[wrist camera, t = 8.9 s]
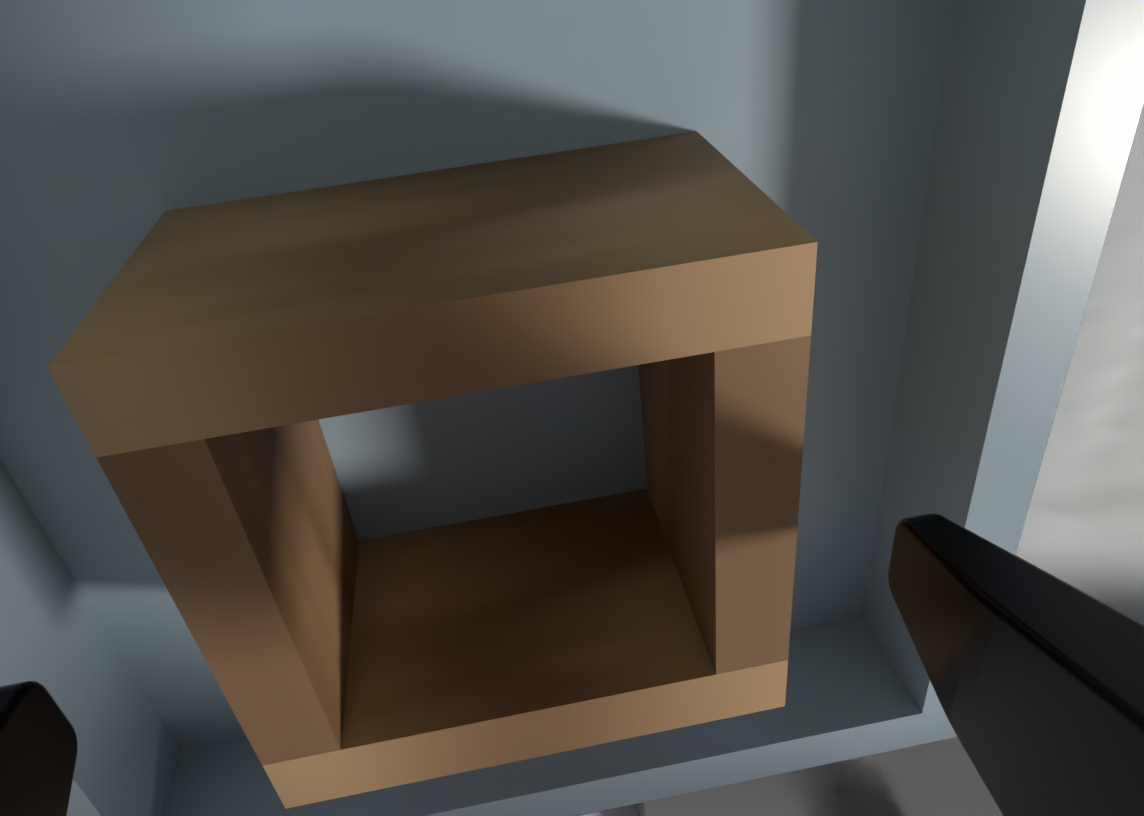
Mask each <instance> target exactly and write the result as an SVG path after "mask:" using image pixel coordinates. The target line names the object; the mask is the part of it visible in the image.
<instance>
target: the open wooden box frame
mask: <svg viewBox="0 0 1144 816" xmlns="http://www.w3.org/2000/svg"><path fill="white" fill-rule="evenodd" d="M817 245H818V242H817V241H816V240H815V239H814V238H813V237H812V236H811V235H810V234H808V233H807V232H806V231H805V230H804V229H803V228H802V227H801V226H800V225H799V224H798V223H796V222H795V221H794V220H793V219H792V218H791V217H790V216H789V215H788V214H787V213H786V212H784V211H783V210H782V209H781V208H780V207H779V206H778V205H777V204H776V203H775V202H774V201H773V200H771V199H770V198H769V197H768V196H767V195H766V194H765V193H764V192H763V191H762V190H761V189H759V188H758V187H757V186H756V185H755V184H754V183H753V182H752V181H751V180H750V179H749V178H747V177H746V176H745V175H744V174H743V173H742V172H741V171H740V170H739V169H738V168H737V167H735V166H734V165H733V164H732V163H731V162H730V161H729V160H728V159H727V158H726V157H725V156H723V155H722V154H721V153H720V152H719V151H718V150H717V149H716V148H715V147H714V146H713V145H711V144H710V143H709V142H708V141H707V140H706V139H705V138H704V137H703V136H702V135H701V134H699V133H698V132H697V131H695V132H688V133H682V134H675V135H668V136H662V137H655V138H648V139H642V140H635V141H628V142H622V143H615V144H608V145H602V146H595V147H588V148H582V149H575V150H568V151H562V152H555V153H548V154H542V155H535V156H528V157H522V158H515V159H508V160H502V161H495V162H488V163H482V164H475V165H468V166H462V167H455V168H448V169H442V170H435V171H428V172H422V173H415V174H408V175H402V176H395V177H388V178H382V179H375V180H368V181H362V182H355V183H348V184H342V185H335V186H328V187H322V188H315V189H308V190H302V191H295V192H288V193H282V194H275V195H268V196H262V197H255V198H248V199H242V200H235V201H228V202H222V203H215V204H208V205H202V206H195V207H188V208H182V209H175V210H168V211H165V212H164V213H163V214H162V216H161V217H160V218H159V220H158V221H157V222H156V224H155V225H154V226H153V228H152V229H151V230H150V232H149V233H148V234H147V235H146V237H145V238H144V239H143V241H142V242H141V243H140V245H139V246H138V247H137V249H136V250H135V251H134V253H133V254H132V255H131V257H130V258H129V259H128V261H127V262H126V263H125V265H124V266H123V267H122V269H121V270H120V271H119V273H118V274H117V275H116V277H115V278H114V279H113V281H112V282H111V283H110V285H109V286H108V287H107V288H106V290H105V291H104V292H103V294H102V295H101V296H100V298H99V299H98V300H97V302H96V303H95V304H94V306H93V307H92V308H91V310H90V311H89V312H88V314H87V315H86V316H85V318H84V319H83V320H82V322H81V323H80V324H79V326H78V327H77V328H76V330H75V331H74V332H73V334H72V335H71V336H70V338H69V339H68V340H67V341H66V343H65V344H64V345H63V347H62V348H61V349H60V351H59V352H58V353H57V355H56V356H55V357H54V359H53V360H52V361H51V363H50V364H49V365H48V369H49V371H50V373H51V375H52V377H53V378H54V380H55V382H56V384H57V386H58V388H59V390H60V391H61V393H62V395H63V397H64V399H65V401H66V403H67V404H68V406H69V408H70V410H71V412H72V414H73V415H74V417H75V419H76V421H77V423H78V425H79V427H80V428H81V430H82V432H83V434H84V436H85V438H86V440H87V441H88V443H89V445H90V447H91V449H92V451H93V453H94V454H95V456H96V458H97V460H98V462H99V464H100V466H101V467H102V469H103V471H104V473H105V475H106V477H107V479H108V480H109V482H110V484H111V486H112V488H113V490H114V492H115V493H116V495H117V497H118V499H119V501H120V503H121V505H122V506H123V508H124V510H125V512H126V514H127V516H128V517H129V519H130V521H131V523H132V525H133V527H134V529H135V530H136V532H137V534H138V536H139V538H140V540H141V542H142V543H143V545H144V547H145V549H146V551H147V553H148V555H149V556H150V558H151V560H152V562H153V564H154V566H155V568H156V569H157V571H158V573H159V575H160V577H161V579H162V581H163V582H164V584H165V586H166V588H167V590H168V592H169V594H170V595H171V597H172V599H173V601H174V603H175V605H176V607H177V608H178V610H179V612H180V614H181V616H182V618H183V619H184V621H185V623H186V625H187V627H188V629H189V631H190V632H191V634H192V636H193V638H194V640H195V642H196V644H197V645H198V647H199V649H200V651H201V653H202V655H203V657H204V658H205V660H206V662H207V664H208V666H209V668H210V670H211V671H212V673H213V675H214V677H215V679H216V681H217V683H218V684H219V686H220V688H221V690H222V692H223V694H224V696H225V697H226V699H227V701H228V703H229V705H230V707H231V709H232V710H233V712H234V714H235V716H236V718H237V720H238V721H239V723H240V725H241V727H242V729H243V731H244V733H245V734H246V736H247V738H248V740H249V742H250V744H251V746H252V747H253V749H254V751H255V753H256V755H257V757H258V759H259V760H260V762H261V764H262V766H263V768H264V770H265V772H266V773H267V775H268V777H269V779H270V781H271V783H272V785H273V786H274V788H275V790H276V792H277V794H278V796H279V798H280V799H281V801H282V803H283V805H284V807H285V809H287V808H292V807H296V806H301V805H306V804H311V803H316V802H321V801H326V800H331V799H335V798H340V797H345V796H350V795H355V794H360V793H365V792H369V791H374V790H379V789H384V788H389V787H394V786H399V785H404V784H408V783H413V782H418V781H423V780H428V779H433V778H438V777H443V776H447V775H452V774H457V773H462V772H467V771H472V770H477V769H482V768H486V767H491V766H496V765H501V764H506V763H511V762H516V761H521V760H525V759H530V758H535V757H540V756H545V755H550V754H555V753H560V752H564V751H569V750H574V749H579V748H584V747H589V746H594V745H599V744H603V743H608V742H613V741H618V740H623V739H628V738H633V737H637V736H642V735H647V734H652V733H657V732H662V731H667V730H672V729H676V728H681V727H686V726H691V725H696V724H701V723H706V722H711V721H715V720H720V719H725V718H730V717H735V716H740V715H745V714H750V713H754V712H759V711H764V710H769V709H774V708H779V707H784V706H785V698H786V683H787V669H788V655H789V641H790V627H791V613H792V599H793V584H794V570H795V556H796V542H797V528H798V514H799V500H800V485H801V471H802V457H803V443H804V429H805V415H806V401H807V387H808V372H809V358H810V344H811V330H812V316H813V302H814V288H815V273H816V259H817ZM635 365H639V378H640V393H641V409H642V424H643V439H644V454H645V470H646V485H647V489H642V490H636V491H631V492H625V493H620V494H614V495H609V496H603V497H598V498H592V499H587V500H581V501H576V502H570V503H565V504H559V505H554V506H548V507H543V508H538V509H532V510H527V511H521V512H516V513H510V514H505V515H499V516H494V517H488V518H483V519H477V520H472V521H466V522H461V523H455V524H450V525H444V526H439V527H433V528H428V529H422V530H417V531H411V532H406V533H400V534H395V535H390V536H384V537H379V538H373V539H368V540H362V541H359V539H358V536H357V533H356V530H355V527H354V524H353V521H352V518H351V515H350V512H349V509H348V506H347V503H346V500H345V497H344V494H343V491H342V488H341V485H340V483H339V480H338V477H337V474H336V471H335V468H334V465H333V462H332V459H331V456H330V453H329V450H328V447H327V444H326V441H325V438H324V435H323V432H322V429H321V426H320V423H319V419H324V418H330V417H336V416H342V415H348V414H354V413H360V412H365V411H371V410H377V409H383V408H389V407H395V406H401V405H406V404H412V403H418V402H424V401H430V400H436V399H442V398H447V397H453V396H459V395H465V394H471V393H477V392H483V391H488V390H494V389H500V388H506V387H512V386H518V385H523V384H529V383H535V382H541V381H547V380H553V379H559V378H564V377H570V376H576V375H582V374H588V373H594V372H600V371H605V370H611V369H617V368H623V367H629V366H635Z"/></svg>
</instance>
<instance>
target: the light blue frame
mask: <svg viewBox="0 0 1144 816" xmlns="http://www.w3.org/2000/svg"><path fill="white" fill-rule="evenodd" d="M1143 103H1144V0H0V686H4V685H10V684H15V683H21V682H26V681H36V682H38V683H40V684H42V685H43V686H44V687H45V688H46V689H47V691H48V692H49V694H50V695H51V696H52V698H53V699H54V700H55V702H56V703H57V705H58V706H59V707H60V709H61V710H62V712H63V713H64V714H65V716H66V717H67V719H68V720H69V721H70V723H71V724H72V726H73V728H74V730H75V733H76V736H77V742H78V750H77V758H76V763H75V769H74V775H73V781H72V787H71V793H70V799H69V805H68V810H67V816H580V815H585V814H590V813H595V812H599V811H604V810H609V809H614V808H619V807H623V806H628V805H633V804H638V803H643V802H647V801H652V800H657V799H662V798H666V797H671V796H676V795H681V794H686V793H690V792H695V791H700V790H705V789H710V788H714V787H719V786H724V785H729V784H734V783H738V782H743V781H748V780H753V779H757V778H762V777H767V776H772V775H777V774H781V773H786V772H791V771H796V770H801V769H805V768H810V767H815V766H820V765H825V764H829V763H834V762H839V761H844V760H848V759H853V758H858V757H863V756H868V755H872V754H877V753H882V752H887V751H892V750H896V749H901V748H906V747H911V746H916V745H920V744H925V743H930V742H935V741H939V740H944V739H949V738H954V737H957V735H956V733H955V731H954V730H953V728H952V726H951V724H950V722H949V720H948V718H947V716H946V714H945V712H944V710H943V708H942V706H941V704H940V702H939V700H938V697H937V695H936V693H935V691H934V688H933V686H932V684H931V682H930V679H929V677H928V675H927V673H926V670H925V668H924V666H923V664H922V661H921V659H920V657H919V655H918V652H917V650H916V648H915V646H914V643H913V641H912V639H911V637H910V634H909V632H908V630H907V628H906V625H905V623H904V621H903V619H902V616H901V614H900V612H899V610H898V607H897V605H896V603H895V601H894V598H893V596H892V594H891V591H890V587H889V582H888V568H889V562H890V556H891V550H892V544H893V538H894V532H895V528H896V525H897V524H898V522H899V521H900V520H902V519H904V518H908V517H913V516H919V515H924V514H930V513H935V514H939V515H942V516H944V517H946V518H948V519H950V520H952V521H953V522H955V523H957V524H959V525H961V526H963V527H964V528H966V529H968V530H970V531H972V532H974V533H975V534H977V535H979V536H981V537H983V538H985V539H987V540H988V541H990V542H992V543H994V544H996V545H998V546H999V547H1001V548H1003V549H1005V550H1007V551H1009V552H1010V553H1012V554H1014V555H1015V554H1016V551H1017V547H1018V544H1019V540H1020V537H1021V533H1022V530H1023V526H1024V523H1025V519H1026V516H1027V512H1028V508H1029V505H1030V501H1031V498H1032V494H1033V491H1034V487H1035V484H1036V480H1037V477H1038V473H1039V470H1040V466H1041V463H1042V459H1043V456H1044V452H1045V449H1046V445H1047V441H1048V438H1049V434H1050V431H1051V427H1052V424H1053V420H1054V417H1055V413H1056V410H1057V406H1058V403H1059V399H1060V396H1061V392H1062V389H1063V385H1064V382H1065V378H1066V374H1067V371H1068V367H1069V364H1070V360H1071V357H1072V353H1073V350H1074V346H1075V343H1076V339H1077V336H1078V332H1079V329H1080V325H1081V322H1082V318H1083V315H1084V311H1085V307H1086V304H1087V300H1088V297H1089V293H1090V290H1091V286H1092V283H1093V279H1094V276H1095V272H1096V269H1097V265H1098V262H1099V258H1100V255H1101V251H1102V248H1103V244H1104V240H1105V237H1106V233H1107V230H1108V226H1109V223H1110V219H1111V216H1112V212H1113V209H1114V205H1115V202H1116V198H1117V195H1118V191H1119V188H1120V184H1121V181H1122V177H1123V173H1124V170H1125V166H1126V163H1127V159H1128V156H1129V152H1130V149H1131V145H1132V142H1133V138H1134V135H1135V131H1136V128H1137V124H1138V121H1139V117H1140V114H1141V110H1142V106H1143ZM695 131H697V132H698V133H699V134H701V135H702V136H703V137H704V138H705V139H706V140H707V141H708V142H709V143H710V144H711V145H713V146H714V147H715V148H716V149H717V150H718V151H719V152H720V153H721V154H722V155H723V156H725V157H726V158H727V159H728V160H729V161H730V162H731V163H732V164H733V165H734V166H735V167H737V168H738V169H739V170H740V171H741V172H742V173H743V174H744V175H745V176H746V177H747V178H749V179H750V180H751V181H752V182H753V183H754V184H755V185H756V186H757V187H758V188H759V189H761V190H762V191H763V192H764V193H765V194H766V195H767V196H768V197H769V198H770V199H771V200H773V201H774V202H775V203H776V204H777V205H778V206H779V207H780V208H781V209H782V210H783V211H784V212H786V213H787V214H788V215H789V216H790V217H791V218H792V219H793V220H794V221H795V222H796V223H798V224H799V225H800V226H801V227H802V228H803V229H804V230H805V231H806V232H807V233H808V234H810V235H811V236H812V237H813V238H814V239H815V240H816V241H817V242H818V245H817V259H816V273H815V288H814V302H813V316H812V330H811V344H810V358H809V372H808V387H807V401H806V415H805V429H804V443H803V457H802V471H801V485H800V500H799V514H798V528H797V542H796V556H795V570H794V584H793V599H792V613H791V627H790V641H789V655H788V669H787V683H786V698H785V706H784V707H779V708H774V709H769V710H764V711H759V712H754V713H750V714H745V715H740V716H735V717H730V718H725V719H720V720H715V721H711V722H706V723H701V724H696V725H691V726H686V727H681V728H676V729H672V730H667V731H662V732H657V733H652V734H647V735H642V736H637V737H633V738H628V739H623V740H618V741H613V742H608V743H603V744H599V745H594V746H589V747H584V748H579V749H574V750H569V751H564V752H560V753H555V754H550V755H545V756H540V757H535V758H530V759H525V760H521V761H516V762H511V763H506V764H501V765H496V766H491V767H486V768H482V769H477V770H472V771H467V772H462V773H457V774H452V775H447V776H443V777H438V778H433V779H428V780H423V781H418V782H413V783H408V784H404V785H399V786H394V787H389V788H384V789H379V790H374V791H369V792H365V793H360V794H355V795H350V796H345V797H340V798H335V799H331V800H326V801H321V802H316V803H311V804H306V805H301V806H296V807H292V808H287V809H285V807H284V805H283V803H282V801H281V799H280V798H279V796H278V794H277V792H276V790H275V788H274V786H273V785H272V783H271V781H270V779H269V777H268V775H267V773H266V772H265V770H264V768H263V766H262V764H261V762H260V760H259V759H258V757H257V755H256V753H255V751H254V749H253V747H252V746H251V744H250V742H249V740H248V738H247V736H246V734H245V733H244V731H243V729H242V727H241V725H240V723H239V721H238V720H237V718H236V716H235V714H234V712H233V710H232V709H231V707H230V705H229V703H228V701H227V699H226V697H225V696H224V694H223V692H222V690H221V688H220V686H219V684H218V683H217V681H216V679H215V677H214V675H213V673H212V671H211V670H210V668H209V666H208V664H207V662H206V660H205V658H204V657H203V655H202V653H201V651H200V649H199V647H198V645H197V644H196V642H195V640H194V638H193V636H192V634H191V632H190V631H189V629H188V627H187V625H186V623H185V621H184V619H183V618H182V616H181V614H180V612H179V610H178V608H177V607H176V605H175V603H174V601H173V599H172V597H171V595H170V594H169V592H168V590H167V588H166V586H165V584H164V582H163V581H162V579H161V577H160V575H159V573H158V571H157V569H156V568H155V566H154V564H153V562H152V560H151V558H150V556H149V555H148V553H147V551H146V549H145V547H144V545H143V543H142V542H141V540H140V538H139V536H138V534H137V532H136V530H135V529H134V527H133V525H132V523H131V521H130V519H129V517H128V516H127V514H126V512H125V510H124V508H123V506H122V505H121V503H120V501H119V499H118V497H117V495H116V493H115V492H114V490H113V488H112V486H111V484H110V482H109V480H108V479H107V477H106V475H105V473H104V471H103V469H102V467H101V466H100V464H99V462H98V460H97V458H96V456H95V454H94V453H93V451H92V449H91V447H90V445H89V443H88V441H87V440H86V438H85V436H84V434H83V432H82V430H81V428H80V427H79V425H78V423H77V421H76V419H75V417H74V415H73V414H72V412H71V410H70V408H69V406H68V404H67V403H66V401H65V399H64V397H63V395H62V393H61V391H60V390H59V388H58V386H57V384H56V382H55V380H54V378H53V377H52V375H51V373H50V371H49V369H48V365H49V364H50V363H51V361H52V360H53V359H54V357H55V356H56V355H57V353H58V352H59V351H60V349H61V348H62V347H63V345H64V344H65V343H66V341H67V340H68V339H69V338H70V336H71V335H72V334H73V332H74V331H75V330H76V328H77V327H78V326H79V324H80V323H81V322H82V320H83V319H84V318H85V316H86V315H87V314H88V312H89V311H90V310H91V308H92V307H93V306H94V304H95V303H96V302H97V300H98V299H99V298H100V296H101V295H102V294H103V292H104V291H105V290H106V288H107V287H108V286H109V285H110V283H111V282H112V281H113V279H114V278H115V277H116V275H117V274H118V273H119V271H120V270H121V269H122V267H123V266H124V265H125V263H126V262H127V261H128V259H129V258H130V257H131V255H132V254H133V253H134V251H135V250H136V249H137V247H138V246H139V245H140V243H141V242H142V241H143V239H144V238H145V237H146V235H147V234H148V233H149V232H150V230H151V229H152V228H153V226H154V225H155V224H156V222H157V221H158V220H159V218H160V217H161V216H162V214H163V213H164V212H165V211H168V210H175V209H182V208H188V207H195V206H202V205H208V204H215V203H222V202H228V201H235V200H242V199H248V198H255V197H262V196H268V195H275V194H282V193H288V192H295V191H302V190H308V189H315V188H322V187H328V186H335V185H342V184H348V183H355V182H362V181H368V180H375V179H382V178H388V177H395V176H402V175H408V174H415V173H422V172H428V171H435V170H442V169H448V168H455V167H462V166H468V165H475V164H482V163H488V162H495V161H502V160H508V159H515V158H522V157H528V156H535V155H542V154H548V153H555V152H562V151H568V150H575V149H582V148H588V147H595V146H602V145H608V144H615V143H622V142H628V141H635V140H642V139H648V138H655V137H662V136H668V135H675V134H682V133H688V132H695ZM319 423H320V426H321V429H322V432H323V435H324V438H325V441H326V444H327V447H328V450H329V453H330V456H331V459H332V462H333V465H334V468H335V471H336V474H337V477H338V480H339V483H340V485H341V488H342V491H343V494H344V497H345V500H346V503H347V506H348V509H349V512H350V515H351V518H352V521H353V524H354V527H355V530H356V533H357V536H358V539H359V541H362V540H368V539H373V538H379V537H384V536H390V535H395V534H400V533H406V532H411V531H417V530H422V529H428V528H433V527H439V526H444V525H450V524H455V523H461V522H466V521H472V520H477V519H483V518H488V517H494V516H499V515H505V514H510V513H516V512H521V511H527V510H532V509H538V508H543V507H548V506H554V505H559V504H565V503H570V502H576V501H581V500H587V499H592V498H598V497H603V496H609V495H614V494H620V493H625V492H631V491H636V490H642V489H647V485H646V470H645V454H644V439H643V424H642V409H641V393H640V378H639V365H635V366H629V367H623V368H617V369H611V370H605V371H600V372H594V373H588V374H582V375H576V376H570V377H564V378H559V379H553V380H547V381H541V382H535V383H529V384H523V385H518V386H512V387H506V388H500V389H494V390H488V391H483V392H477V393H471V394H465V395H459V396H453V397H447V398H442V399H436V400H430V401H424V402H418V403H412V404H406V405H401V406H395V407H389V408H383V409H377V410H371V411H365V412H360V413H354V414H348V415H342V416H336V417H330V418H324V419H319Z"/></svg>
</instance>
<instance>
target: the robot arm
mask: <svg viewBox="0 0 1144 816" xmlns="http://www.w3.org/2000/svg"><path fill="white" fill-rule="evenodd" d="M888 582H889V587H890V591H891V594H892V596H893V598H894V601H895V603H896V605H897V607H898V610H899V612H900V614H901V616H902V619H903V621H904V623H905V625H906V628H907V630H908V632H909V634H910V637H911V639H912V641H913V643H914V646H915V648H916V650H917V652H918V655H919V657H920V659H921V661H922V664H923V666H924V668H925V670H926V673H927V675H928V677H929V679H930V682H931V684H932V686H933V688H934V691H935V693H936V695H937V697H938V700H939V702H940V704H941V706H942V708H943V710H944V712H945V714H946V716H947V718H948V720H949V722H950V724H951V726H952V728H953V730H954V731H955V733H956V735H957V737H958V739H959V741H960V742H961V744H962V746H963V748H964V749H965V751H966V753H967V754H968V756H969V758H970V760H971V761H972V763H973V765H974V767H975V768H976V770H977V772H978V773H979V775H980V777H981V779H982V780H983V782H984V784H985V786H986V787H987V789H988V791H989V792H990V794H991V796H992V798H993V799H994V801H995V803H996V805H997V806H998V808H999V810H1000V811H1001V813H1002V815H1003V816H1144V625H1143V624H1141V623H1139V622H1138V621H1136V620H1134V619H1132V618H1130V617H1128V616H1126V615H1125V614H1123V613H1121V612H1119V611H1117V610H1115V609H1114V608H1112V607H1110V606H1108V605H1106V604H1104V603H1103V602H1101V601H1099V600H1097V599H1095V598H1093V597H1091V596H1090V595H1088V594H1086V593H1084V592H1082V591H1080V590H1079V589H1077V588H1075V587H1073V586H1071V585H1069V584H1068V583H1066V582H1064V581H1062V580H1060V579H1058V578H1056V577H1055V576H1053V575H1051V574H1049V573H1047V572H1045V571H1044V570H1042V569H1040V568H1038V567H1036V566H1034V565H1033V564H1031V563H1029V562H1027V561H1025V560H1023V559H1022V558H1020V557H1018V556H1016V555H1014V554H1012V553H1010V552H1009V551H1007V550H1005V549H1003V548H1001V547H999V546H998V545H996V544H994V543H992V542H990V541H988V540H987V539H985V538H983V537H981V536H979V535H977V534H975V533H974V532H972V531H970V530H968V529H966V528H964V527H963V526H961V525H959V524H957V523H955V522H953V521H952V520H950V519H948V518H946V517H944V516H942V515H939V514H935V513H930V514H924V515H919V516H913V517H908V518H904V519H902V520H900V521H899V522H898V524H897V525H896V528H895V532H894V538H893V544H892V550H891V556H890V562H889V568H888ZM77 750H78V742H77V736H76V733H75V730H74V728H73V726H72V724H71V723H70V721H69V720H68V719H67V717H66V716H65V714H64V713H63V712H62V710H61V709H60V707H59V706H58V705H57V703H56V702H55V700H54V699H53V698H52V696H51V695H50V694H49V692H48V691H47V689H46V688H45V687H44V686H43V685H42V684H40V683H38V682H36V681H26V682H21V683H15V684H10V685H4V686H0V816H67V810H68V805H69V799H70V793H71V787H72V781H73V775H74V769H75V763H76V758H77Z"/></svg>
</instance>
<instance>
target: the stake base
mask: <svg viewBox="0 0 1144 816" xmlns="http://www.w3.org/2000/svg"><path fill="white" fill-rule="evenodd" d="M638 806H639V816H1003V815H1002V813H1001V811H1000V810H999V808H998V806H997V805H996V803H995V801H994V799H993V798H992V796H991V794H990V792H989V791H988V789H987V787H986V786H985V784H984V782H983V780H982V779H981V777H980V775H979V773H978V772H977V770H976V768H975V767H974V765H973V763H972V761H971V760H970V758H969V756H968V754H967V753H966V751H965V749H964V748H963V746H962V744H961V742H960V741H959V739H958V737H954V738H949V739H944V740H939V741H935V742H930V743H925V744H920V745H916V746H911V747H906V748H901V749H896V750H892V751H887V752H882V753H877V754H872V755H868V756H863V757H858V758H853V759H848V760H844V761H839V762H834V763H829V764H825V765H820V766H815V767H810V768H805V769H801V770H796V771H791V772H786V773H781V774H777V775H772V776H767V777H762V778H757V779H753V780H748V781H743V782H738V783H734V784H729V785H724V786H719V787H714V788H710V789H705V790H700V791H695V792H690V793H686V794H681V795H676V796H671V797H666V798H662V799H657V800H652V801H647V802H643V803H638Z"/></svg>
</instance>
